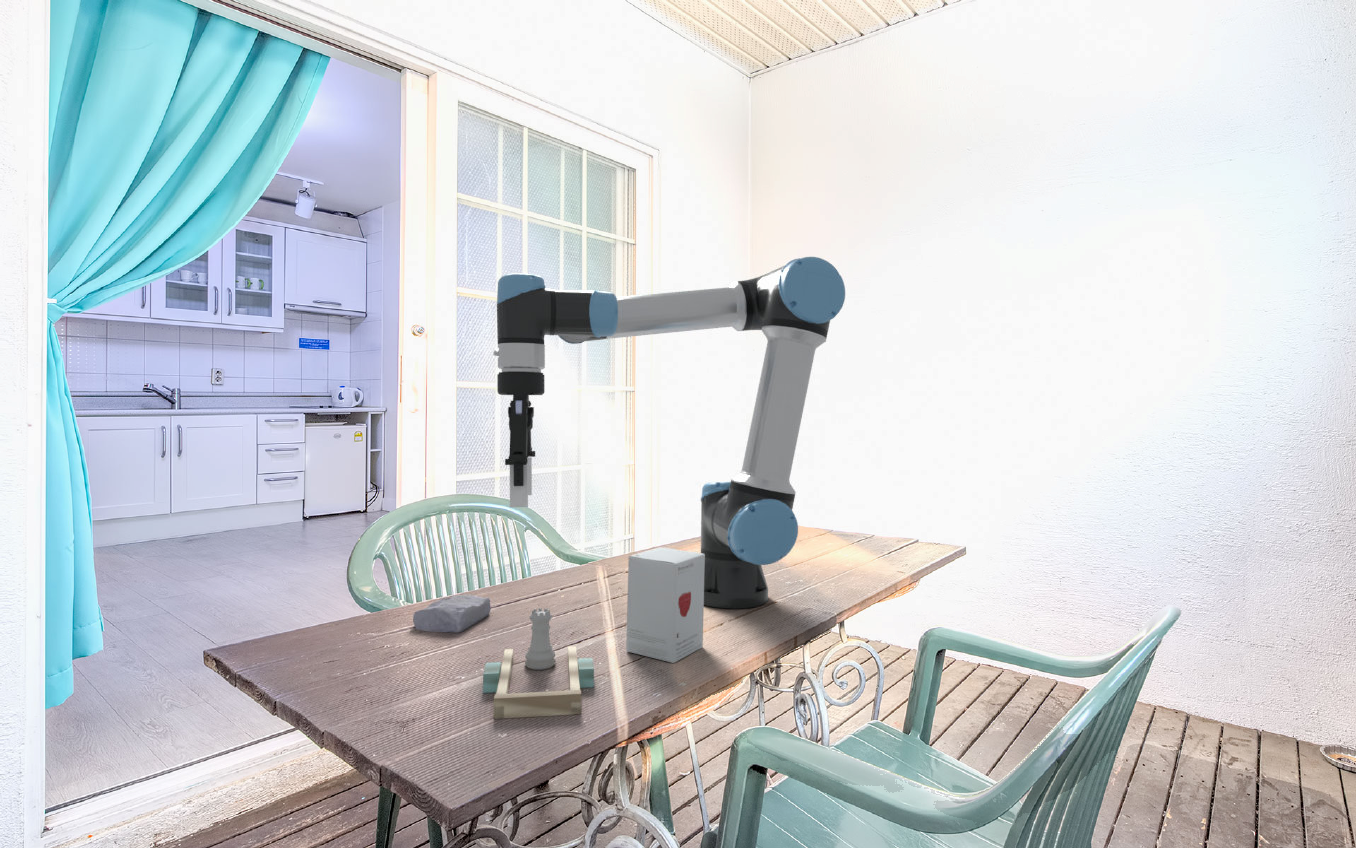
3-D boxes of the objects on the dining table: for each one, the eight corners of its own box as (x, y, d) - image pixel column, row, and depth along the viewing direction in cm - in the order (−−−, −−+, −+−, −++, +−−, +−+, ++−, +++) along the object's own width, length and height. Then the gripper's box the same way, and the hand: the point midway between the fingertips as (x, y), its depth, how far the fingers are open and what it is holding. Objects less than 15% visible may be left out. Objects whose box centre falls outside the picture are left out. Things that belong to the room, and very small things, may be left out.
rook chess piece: (526, 659, 105) (527, 606, 105) (557, 659, 105) (557, 606, 105) (522, 671, 100) (523, 615, 100) (554, 670, 101) (555, 615, 101)
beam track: (490, 659, 105) (491, 643, 104) (589, 655, 107) (589, 639, 107) (476, 720, 85) (476, 699, 85) (597, 713, 87) (597, 693, 87)
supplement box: (674, 665, 104) (675, 563, 103) (624, 652, 109) (626, 555, 108) (705, 647, 112) (706, 552, 111) (657, 636, 116) (659, 545, 116)
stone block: (408, 641, 118) (462, 634, 116) (404, 612, 118) (458, 605, 116) (446, 622, 129) (496, 615, 127) (442, 596, 129) (491, 589, 127)
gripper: (503, 373, 127) (504, 491, 128) (489, 367, 103) (490, 513, 104) (546, 374, 129) (546, 490, 129) (542, 368, 104) (542, 512, 105)
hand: (521, 500), depth 116 cm, fingers open, 13 cm apart
